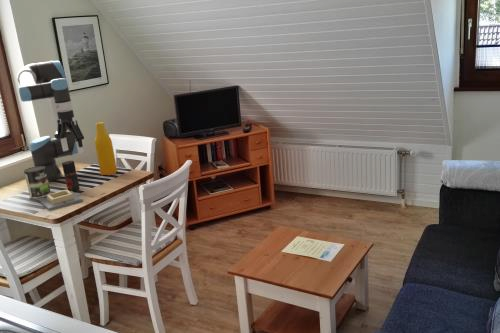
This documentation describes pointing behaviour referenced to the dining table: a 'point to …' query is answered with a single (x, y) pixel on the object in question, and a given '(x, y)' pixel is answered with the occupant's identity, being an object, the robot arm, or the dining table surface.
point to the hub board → (60, 199)
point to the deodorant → (70, 176)
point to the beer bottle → (104, 151)
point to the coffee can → (37, 182)
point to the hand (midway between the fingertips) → (73, 152)
